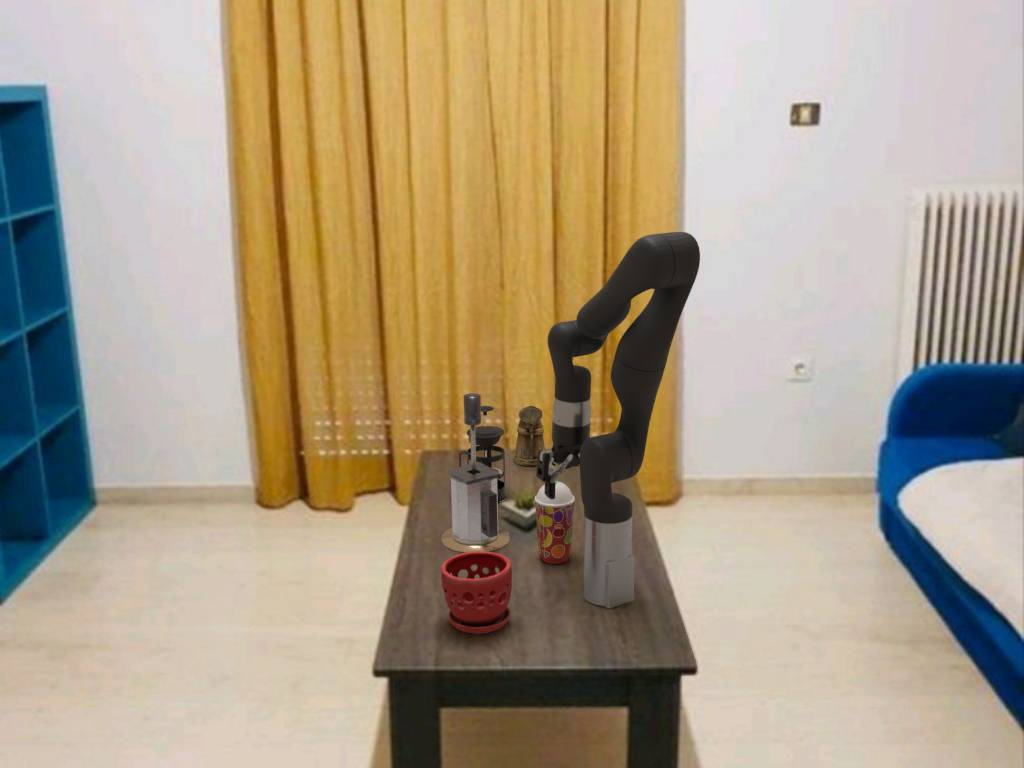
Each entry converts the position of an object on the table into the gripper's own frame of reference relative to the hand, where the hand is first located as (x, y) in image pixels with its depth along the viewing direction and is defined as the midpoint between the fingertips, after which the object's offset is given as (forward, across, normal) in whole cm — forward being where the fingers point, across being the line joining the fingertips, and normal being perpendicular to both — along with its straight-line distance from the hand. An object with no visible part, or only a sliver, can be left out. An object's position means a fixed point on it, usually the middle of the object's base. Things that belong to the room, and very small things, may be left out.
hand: (568, 493), depth 222 cm
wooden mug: (+21, +28, +57) cm, 67 cm away
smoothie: (+18, +1, +6) cm, 19 cm away
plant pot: (+17, -26, -10) cm, 33 cm away
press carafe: (+19, -8, +23) cm, 31 cm away
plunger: (+8, -8, +24) cm, 27 cm away
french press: (+20, +6, +43) cm, 48 cm away
